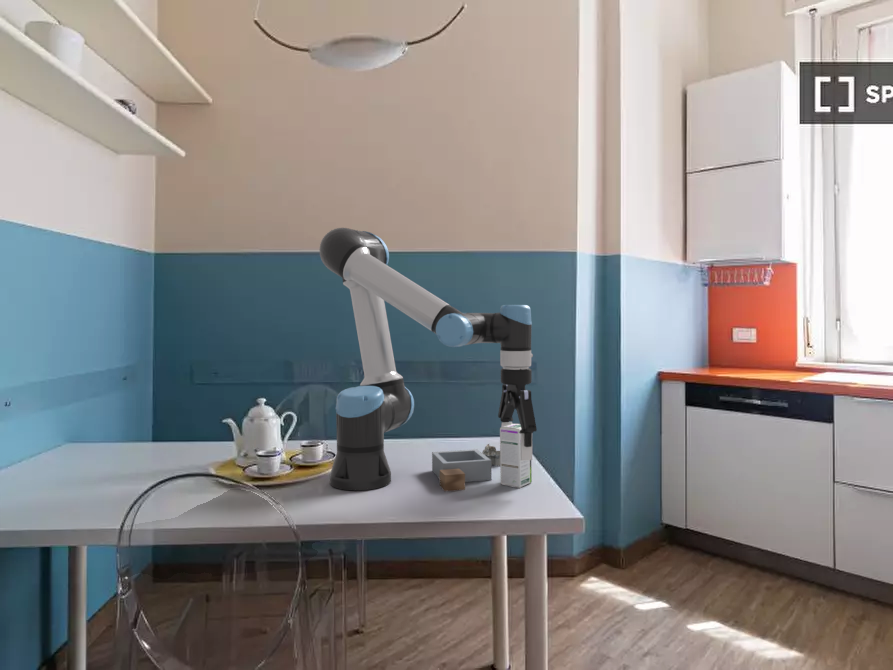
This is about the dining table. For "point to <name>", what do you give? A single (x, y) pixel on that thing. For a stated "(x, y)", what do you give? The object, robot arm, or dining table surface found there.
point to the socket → (463, 464)
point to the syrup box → (513, 458)
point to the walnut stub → (452, 479)
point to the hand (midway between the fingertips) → (516, 453)
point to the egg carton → (492, 455)
